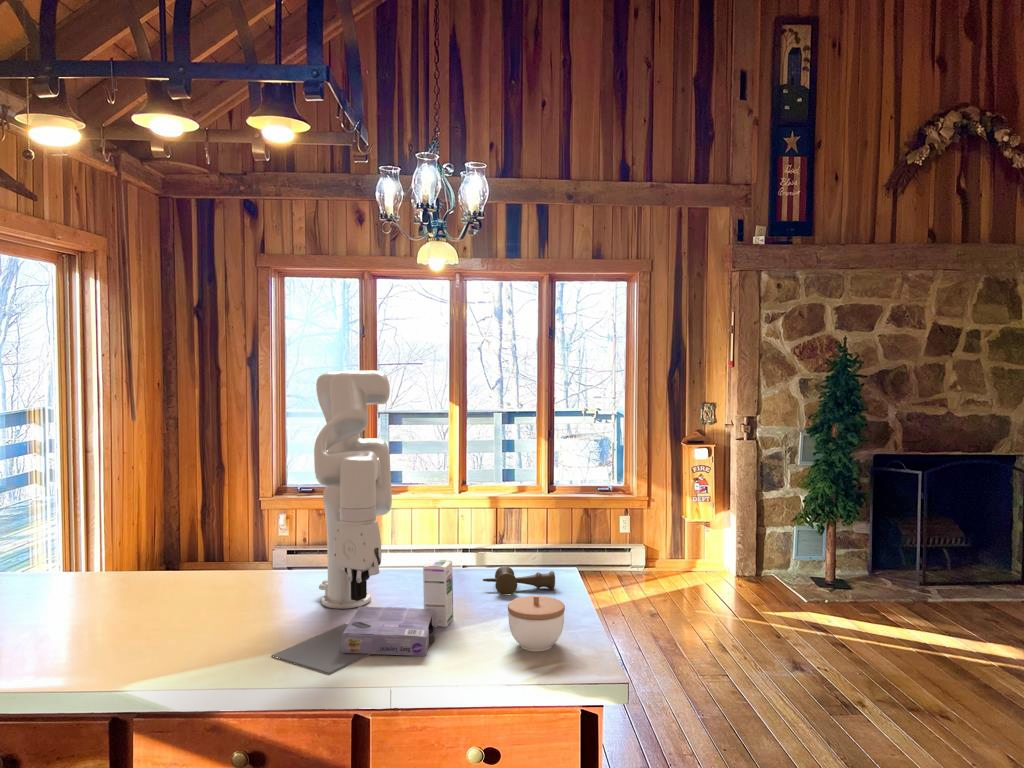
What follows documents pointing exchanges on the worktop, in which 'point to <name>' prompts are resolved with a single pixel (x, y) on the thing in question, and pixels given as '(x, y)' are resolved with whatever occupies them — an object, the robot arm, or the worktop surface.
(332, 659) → the rubber mat
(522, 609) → the lidded bowl
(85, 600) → the worktop surface
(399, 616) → the cake pan box
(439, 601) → the syrup box
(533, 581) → the kendama
